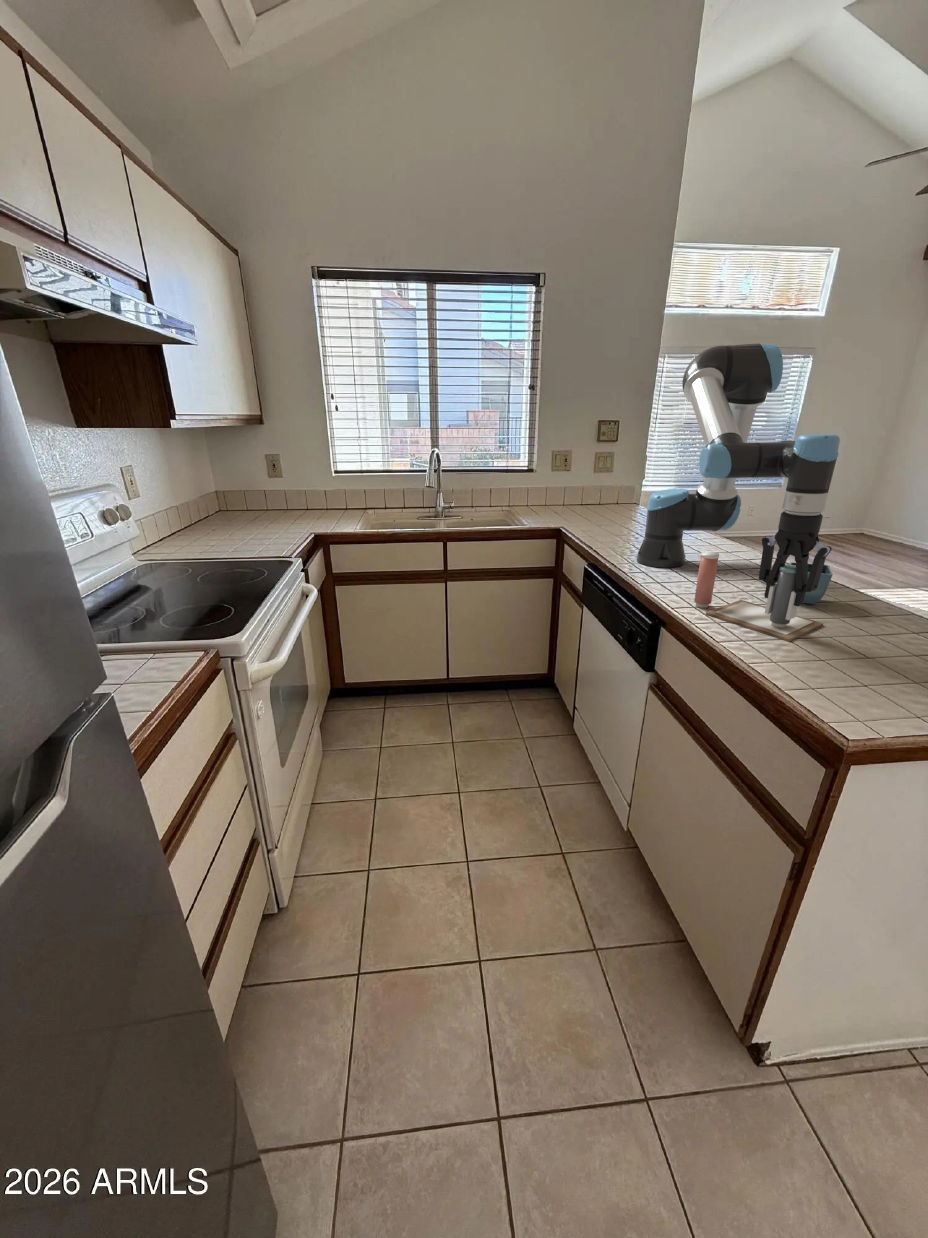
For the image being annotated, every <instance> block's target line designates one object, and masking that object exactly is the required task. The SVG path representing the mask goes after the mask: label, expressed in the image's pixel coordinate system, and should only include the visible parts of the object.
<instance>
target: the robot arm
mask: <svg viewBox="0 0 928 1238" xmlns="http://www.w3.org/2000/svg"><path fill="white" fill-rule="evenodd" d="M783 360H784V358H783V353H782V351H781V349H780V347H779V346H778V345H777V344H773V343H760V342H758V343H746V344H745V343H744V344H734V345H733V344H730V345H715V346H712V347H709V348H707V349H705V350H703V351H702V352H700V353H699V354H698V355H696V356H695V357H694V358H693V359H692V360H691V361H690V363H689V364H688V366H687V367H686V369H685V371H684V374H683V377H682V381H681V382H682V391H683V395H684V397H685V399H686V400H687V401H688V402H690V403H691V405H692V409H693V411H694V415H695V418H696V420H697V424H698V427H699V431H700V434H701V436H702V440H703V443H704V445H703V447H702V449H701V451H700V455H699V459H698V460H699V461H698V466H699V467H698V468H699V469H698V470H699V474H700V476H702V477H703V478H704V480H703V482H702V483H700V484H699V485H697V488H696V491H695V493H690V492H689V490H688V489H686V488H668V489H662V490H658V491H655V492H653V493H652V494H650V496H649V498H648V503H647V507H646V509H647V510H646V520H645V521H646V522H645V530H644V531H645V532H644V537H643V540H642V543H641V545H640V547H639V550H638V552H637V553H636V554H637V555H636V561H637V563H639V564H641V565H643V566H644V565H645V566H647V567H653V568H679V567H681V566H684V565H685V563H686V553H685V548H684V542H683V536H684V532H687V531H688V532H689V531H691V532H692V531H694V532H695V531H701V532H702V531H703V532H705V531H706V532H708V531H709V532H710V531H711V532H717V531H727V530H729V529H731V528H733V526H734V525H735V524H736V522H737V520H738V519H739V517H740V514H741V506H742V500H741V499H742V498H741V496H740V494H738V489H737V488H736V487H735V484H736V480H737V479H746V478H747V479H748V478H750V479H753V478H754V479H755V478H757V479H758V478H761V479H763V478H765V479H766V478H767V479H768V478H786V479H787V484H786V488H785V493H784V498H783V503H782V510H783V511H782V512H781V513H780V518H779V523H778V528H777V529H778V531H777V532H776V533H775V534H774V535H772V536H771V535H769V536H765V537H763V538H761V544H762V551H761V553H762V554H761V560H760V567H759V573H758V580H759V581H762V582H764V583H765V584H766V585H765V591H764V595H763V596H764V598H765V599H767V600H766V604H765V605H766V609H765V613H766V614H769V613H771V610H772V605H773V600H774V595H775V590H776V586H777V581H778V576H779V571H780V566H782V565H786V563H787V561H788V558H789V557H790V556H792V557H794V561H795V563H796V590H794V591H792V592H791V596H790V601H789V605H788V610H787V614H786V619H787V620H790V619H793V618H795V616H797V611H798V607H801V606H803V604H804V603H803V601H804V597H805V593H806V592H811V591H813V590H816V589H817V587H818V583H819V580H820V576H821V573H822V569H823V566H824V565H825V562H826V559H827V557H828V556H829V554H830V553H831V552H832V550H833V549H832V547H831V546H828V545H827V546H825V545H824V544H822V542H820V538H819V534H820V530H821V526H822V523H823V518H824V515H823V514H822V513H823V512H824V511H825V509H826V505H827V500H828V495H829V490H830V487H831V482H832V479H833V475H834V473H835V472H834V471H835V467H836V463H837V458H838V457H839V447H840V444H841V443H840V442H841V439H840V436H839V435H837V434H835V433H831V434H830V433H828V434H827V433H807V434H806V433H805V434H800V435H798V437H797V438H796V439H795V440H781V441H774V442H771V441H770V442H748V440H749V435H750V432H751V429H752V425H753V422H754V419H755V415H756V411H757V408H758V407H760V405H762V404H764V403H765V401H766V399H767V396H768V393H769V394H770V393H773V392H775V391H776V390H777V389H778V387H779V386H780V384H781V380H782V377H783V371H784V361H783ZM776 544H777V546H778V551H777V554H776V558H775V561H774V563H773V558H774V552H775V545H776ZM813 549H815V550H814V554H815V555H814V557H813V561H812V563H811V564H812V567H811V571H810V574H809V578H808V564H809V559H810V552H812V550H813Z"/></svg>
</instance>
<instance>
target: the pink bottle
mask: <svg viewBox="0 0 928 1238" xmlns="http://www.w3.org/2000/svg"><path fill="white" fill-rule="evenodd" d="M719 558H720V553H718V552H715V551H702V552H700V560H699V568H698V575H697V579H696V586H695V594H694V603H695V607H696V608H698V609H699V608H700V609H707V608H709V605H711V604H712V600H713V593H714V587H715V582H716V575H717V568H718V563H719Z"/></svg>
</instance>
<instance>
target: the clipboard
mask: <svg viewBox="0 0 928 1238" xmlns="http://www.w3.org/2000/svg"><path fill="white" fill-rule="evenodd" d="M765 609H766V604H765V605H762V604H761V605H760V604H757V603H754V602H750V601H747V600H742V599H738V600H737V601H736V600H735V601H733V602H729V603H727V604H725V605H722V606H720V607H716V608H713V609H710V610H708V611H705V615H706V616H709V617H711V618H715V619H719V620H721V621H724V622H727V623H730V624H734V625H737V626H740V627H743V628H746V629H750V630H752V631H755V632H758V633H761V634H763V635H767V636H771V637H772V638H773V637H774V638H776V639H780V640H783V641H786V642H791V641H793V640H795V639H798V638H799V637H801V636H803V635H806V634H808V633H810V632H813V631H814V630H816V629H818V628H821V627H823V626H824V622H821V621H817V620H814V619H809V618H806V617H802V616H799V615H796V616H795V618H793V619H790V623H789V624H787V625H786V628H776V627H773V626H772V625H771V623H772V622H771V621H770V615H771V613H769V614H766V613H765Z"/></svg>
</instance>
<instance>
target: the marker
mask: <svg viewBox="0 0 928 1238" xmlns="http://www.w3.org/2000/svg"><path fill="white" fill-rule="evenodd" d="M776 584H777V586H776V590H775V595H774V600H773V605H772V610H771V615H770V621H771V622H772V623H771V625H772V626H773V627H776V628H786V625H787V624H789V623H790V620H787V619H786V614H787V610H788V605H789V601H790V596H791V592H792V591H794V590H796V565H789V564H785V565H782V566H780V571H779V576H778V581H777V583H776Z"/></svg>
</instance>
